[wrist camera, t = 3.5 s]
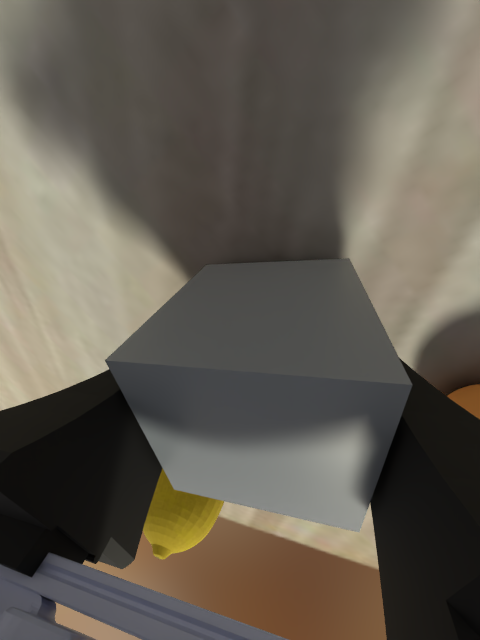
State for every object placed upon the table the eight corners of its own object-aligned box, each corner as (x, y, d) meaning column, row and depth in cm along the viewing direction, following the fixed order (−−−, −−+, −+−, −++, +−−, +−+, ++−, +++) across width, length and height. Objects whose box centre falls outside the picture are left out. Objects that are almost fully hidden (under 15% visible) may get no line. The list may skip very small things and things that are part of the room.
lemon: (172, 397, 18) (99, 524, 12) (241, 413, 17) (203, 560, 11) (180, 437, 21) (124, 556, 15) (239, 453, 20) (208, 587, 14)
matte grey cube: (349, 258, 9) (411, 384, 4) (335, 372, 12) (359, 532, 7) (206, 264, 11) (105, 360, 5) (225, 364, 14) (174, 489, 8)
